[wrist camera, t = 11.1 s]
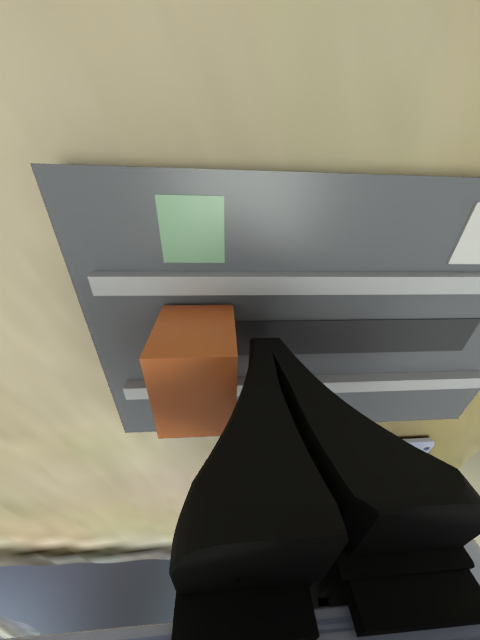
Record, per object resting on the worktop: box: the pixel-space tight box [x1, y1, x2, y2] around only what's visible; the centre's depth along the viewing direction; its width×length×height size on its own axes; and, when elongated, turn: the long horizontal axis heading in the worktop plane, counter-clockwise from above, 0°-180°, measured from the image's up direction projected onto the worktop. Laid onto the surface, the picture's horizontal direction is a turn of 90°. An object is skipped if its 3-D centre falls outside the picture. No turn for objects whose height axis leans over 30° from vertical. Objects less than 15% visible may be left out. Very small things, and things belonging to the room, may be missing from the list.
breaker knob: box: [139, 305, 238, 439], centre depth 10 cm, size 4×3×4 cm
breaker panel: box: [30, 163, 480, 433], centre depth 13 cm, size 14×22×3 cm, turn 88°
